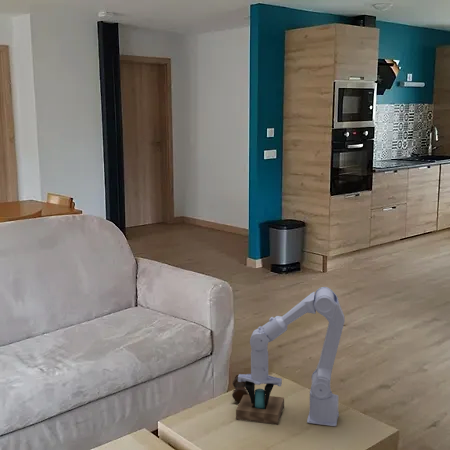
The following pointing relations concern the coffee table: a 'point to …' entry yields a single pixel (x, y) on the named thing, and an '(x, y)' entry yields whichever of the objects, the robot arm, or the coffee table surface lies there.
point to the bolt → (239, 390)
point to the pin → (260, 398)
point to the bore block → (260, 410)
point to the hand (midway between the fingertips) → (259, 403)
